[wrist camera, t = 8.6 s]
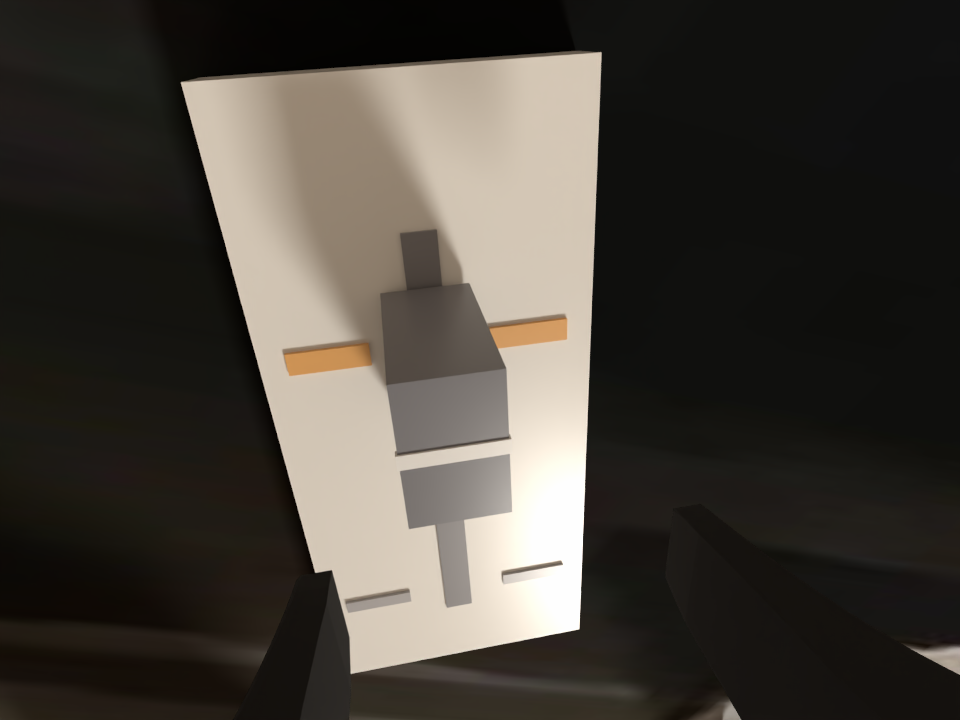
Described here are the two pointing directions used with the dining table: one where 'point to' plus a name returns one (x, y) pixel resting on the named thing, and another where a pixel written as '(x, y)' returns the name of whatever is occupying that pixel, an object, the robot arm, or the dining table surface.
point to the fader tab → (446, 405)
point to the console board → (406, 266)
